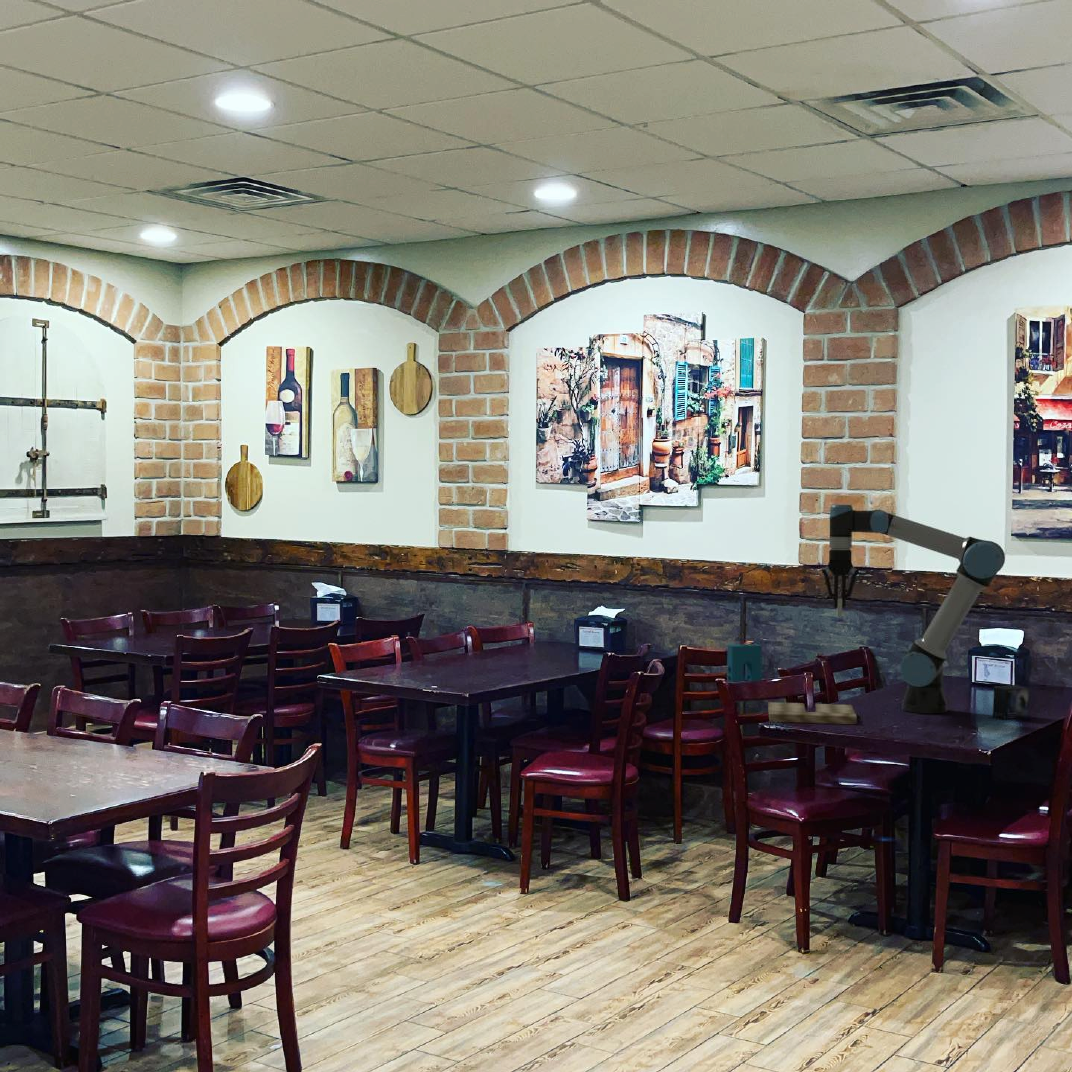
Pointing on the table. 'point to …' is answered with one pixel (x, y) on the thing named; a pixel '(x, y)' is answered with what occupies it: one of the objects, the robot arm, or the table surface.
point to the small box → (1010, 702)
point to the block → (741, 656)
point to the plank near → (834, 708)
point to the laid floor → (812, 717)
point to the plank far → (786, 707)
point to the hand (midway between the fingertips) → (839, 617)
